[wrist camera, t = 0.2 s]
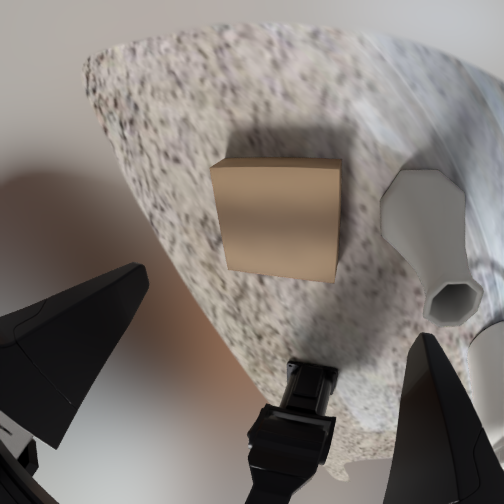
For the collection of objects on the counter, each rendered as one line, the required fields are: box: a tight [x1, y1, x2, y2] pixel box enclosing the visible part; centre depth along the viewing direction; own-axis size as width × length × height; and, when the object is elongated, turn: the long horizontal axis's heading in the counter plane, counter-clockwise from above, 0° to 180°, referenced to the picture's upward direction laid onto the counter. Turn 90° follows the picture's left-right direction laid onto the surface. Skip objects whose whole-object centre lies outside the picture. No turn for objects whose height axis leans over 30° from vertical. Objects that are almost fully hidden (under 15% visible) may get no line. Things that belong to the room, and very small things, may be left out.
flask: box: [380, 170, 484, 327], centre depth 14 cm, size 7×7×10 cm
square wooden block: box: [210, 157, 342, 283], centre depth 21 cm, size 9×9×3 cm
